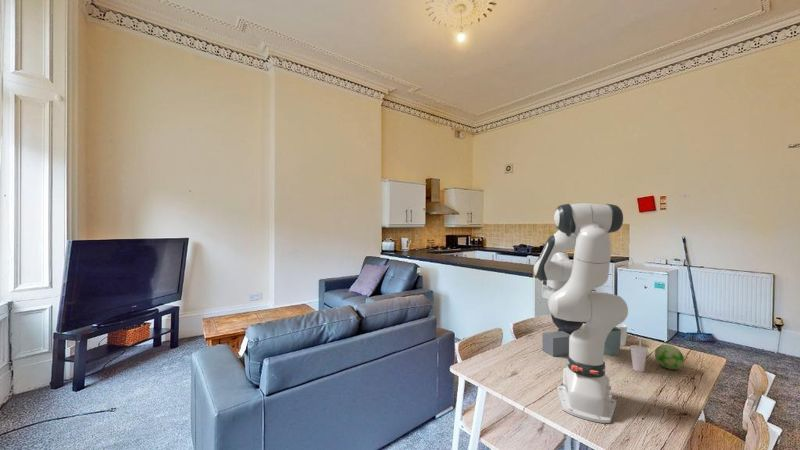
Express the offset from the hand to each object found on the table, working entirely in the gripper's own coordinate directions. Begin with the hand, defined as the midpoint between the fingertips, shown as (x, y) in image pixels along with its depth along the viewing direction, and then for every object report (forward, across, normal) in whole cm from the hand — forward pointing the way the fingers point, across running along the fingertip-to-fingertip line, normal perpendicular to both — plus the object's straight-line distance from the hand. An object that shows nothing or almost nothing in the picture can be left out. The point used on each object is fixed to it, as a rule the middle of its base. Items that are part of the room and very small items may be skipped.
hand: (558, 311), depth 154 cm
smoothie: (+20, -24, -20) cm, 38 cm away
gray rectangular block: (+20, 0, 0) cm, 20 cm away
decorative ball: (+20, -26, -35) cm, 48 cm away
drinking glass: (+20, -6, -25) cm, 33 cm away
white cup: (+20, +1, -39) cm, 44 cm away
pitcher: (+20, +18, -25) cm, 37 cm away
